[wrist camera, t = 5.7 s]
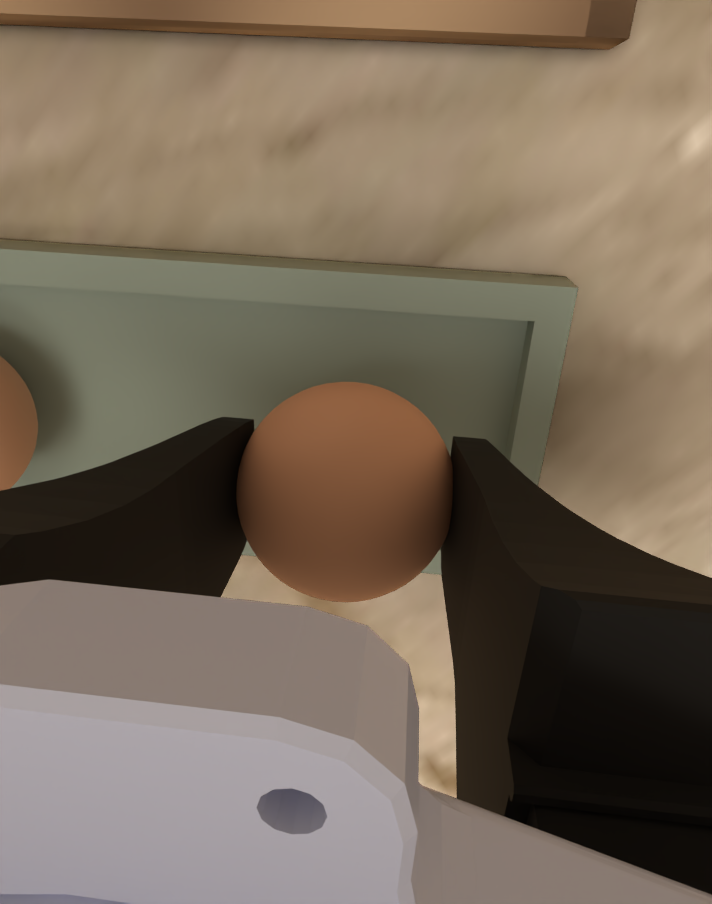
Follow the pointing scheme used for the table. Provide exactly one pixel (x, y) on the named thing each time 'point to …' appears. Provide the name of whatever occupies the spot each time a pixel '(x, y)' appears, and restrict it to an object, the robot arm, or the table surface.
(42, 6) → the trough walnut
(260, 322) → the trough green
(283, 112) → the table surface
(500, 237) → the table surface
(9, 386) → the terracotta ball
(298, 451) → the terracotta ball
